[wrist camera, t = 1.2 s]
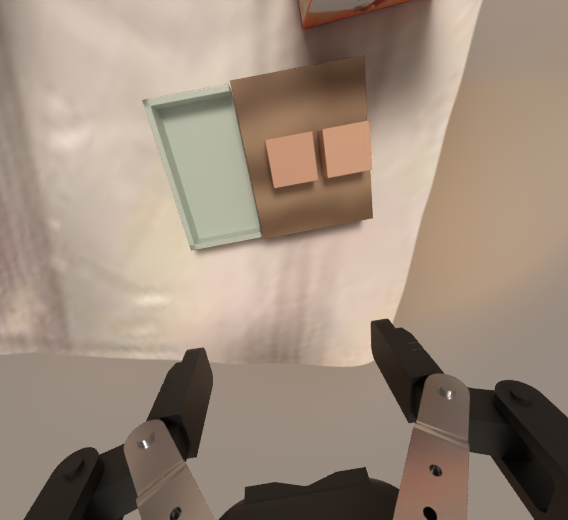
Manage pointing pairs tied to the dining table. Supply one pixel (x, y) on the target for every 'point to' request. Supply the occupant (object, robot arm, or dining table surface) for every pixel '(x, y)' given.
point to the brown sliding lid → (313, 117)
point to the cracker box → (338, 9)
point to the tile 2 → (345, 149)
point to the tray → (205, 165)
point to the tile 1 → (292, 159)
